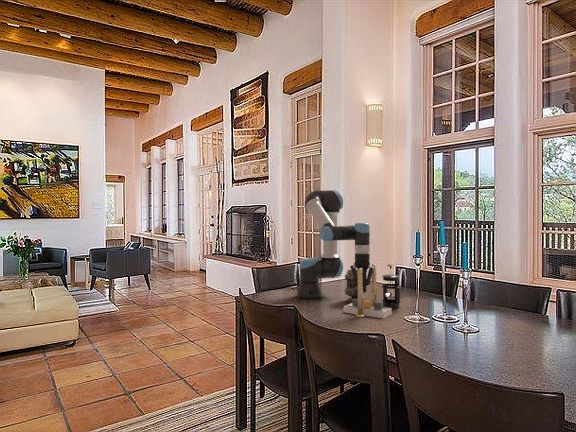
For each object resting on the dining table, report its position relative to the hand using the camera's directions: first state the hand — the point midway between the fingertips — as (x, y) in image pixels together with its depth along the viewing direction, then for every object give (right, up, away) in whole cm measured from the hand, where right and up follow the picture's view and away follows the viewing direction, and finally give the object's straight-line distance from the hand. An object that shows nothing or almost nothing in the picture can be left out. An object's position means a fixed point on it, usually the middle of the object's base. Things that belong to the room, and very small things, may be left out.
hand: (362, 298), depth 216 cm
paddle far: (+7, -4, -5) cm, 10 cm away
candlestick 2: (+7, -7, +5) cm, 11 cm away
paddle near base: (-3, -4, +2) cm, 5 cm away
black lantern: (+18, -7, +11) cm, 22 cm away
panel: (+2, -7, -2) cm, 8 cm away
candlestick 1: (-2, -8, -8) cm, 11 cm away
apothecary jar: (0, -7, +26) cm, 27 cm away
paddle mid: (+2, -4, -2) cm, 5 cm away
